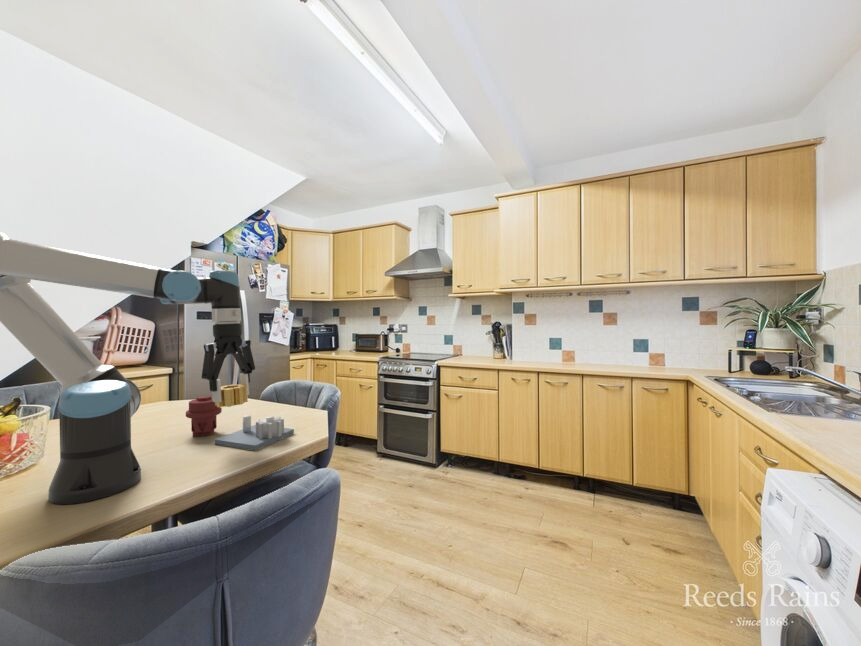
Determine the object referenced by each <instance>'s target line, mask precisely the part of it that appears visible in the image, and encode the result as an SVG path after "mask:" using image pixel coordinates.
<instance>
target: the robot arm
mask: <svg viewBox="0 0 861 646" xmlns="http://www.w3.org/2000/svg"><path fill="white" fill-rule="evenodd" d="M31 280H32V281H38V282H47V283H52V284H53V283H54V284H58V285H59V284H60V285H65V286H66V285H67V286H74V287H80V288H87V289H94V290H101V291H107V292H108V291H109V292H114V293H120V294H127V295H135V296H141V297H147V298H154V299H158V300H159V302H161V304H163V305H193V304H194V305H195V304H210V305H211V322H212V323H214V324H213V325H212V336H213V337H214V339H213V340H214V341H213V342H212V343H204V344H203V350H204V356H203V363H202V369H201V371H202V372H201V379H203V380H206V381H207V380H208V382H209V391H210V392H211V393H212V396H211V397H213V402H218V403H220V402H222V398H221V385H222V384H221V379H220V378H219V376H220V373H221V371H222V366H223V364H224V361H225V359H226V358H227V356H228V355H230V354H231V355H232V356H233V357H234V360H235V362H236V364H237V365H238V367H239V369H240V371H241V373H239V384H245V385H247V396H249V395H250V387H249V385H250V382H251V377H250V376H251V375H250V374H252V373H253V371H255V370H256V366H255V361H254V357H253V352H252V349H251V340H250V339H242V335H243V327H242V326H243V325H242V323H240V322H241V321H242V312H241V310H242V309H241V292H240V291H241V290H240V289H241V288H240V287H241V286H240V282H239V275H238V272H236V271H234V270H233V271H232V270H223V269H221V270H212V271H210V272H209V275H208V277H197V276H196V275H195V274H193V273H192V272H190V271H188V270H187V271H186V270H181V269H179V270H178V269H177V270H175V269H174V270H173V269H167V268H162V267H157V266H154V265H153V266H152V265H147V264H144V263H136V262H133V261H127V260H121V259H115V258H110V257H105V256H101V255H96V254H91V253H90V254H89V253H85V252H81V251H80V252H79V251H75V250H69V249H68V250H67V249H63V248H59V247H58V248H57V247H54V246H49V245H43V244H37V243H33V242H27V241H22V240H17V239H12V238H9V237H8V236H7V235H6V234H5V233H3V232H0V323H1V324H2V325H3V326H4V328H5V329H6V330H8V332H10V333H11V334H12V336H14V338H16V340H18V342H19V343H20V344H21V345H22V346H23V347H24V348H25V349H26V350H27V351H28V352H29V353H30V354H31V355H32V356H33V357H34V358H35V360H37V361H38V363H40V364H41V365H42V366H43V367H44V369H45V370H46V371H47V372H48V373H49V374H50V375H51V376H52V377H53V378H54V379H55V380H56V381H57V382H58V383H59V384H60V385H61V390H60V393H59V402H58V404H57V407H58V411H59V412H58V413H59V419H58V420H59V453H60V455H59V456H60V457H59V463H58V466H57V468H56V470H55V473H54V476H53V478H52V480H51V483H50V485H49V488H48V501H49V502H50V503H51V504H55V505H73V504H74V505H75V504H79V503H80V504H81V503H86V502H91V501H95V500H99V499H103V498H107V497H110V496H112V495H116V494H119V493H121V492H123V491H125V490H127V489H130V488H131V487H133V486H134V485H136V484H137V483H138V482H140V480H142V479H141V478H142V468H141V466H140V463H139V461H138V459H137V457H136V454H135V453H134V451H133V449H132V428H131V427H132V422H131V421H132V418H133V416H134V415H135V414H136V413H137V411H138V409H139V408H140V405H141V401H142V395H141V391H140V388H139V387H138V385H137V384H136V383H135V382H133V381H132V380H129V379H128V378H126V377H125V376H124V375H123V374H122V373H121V372H120V370H118V369H117V368H116V366H114V365H109V364H103V363H102V361H100V360H99V358H98V357H97V356H96V355H95V354H94V353H93V352H92V351H91V349H89V347H88V346H87V345H86V344H85V343H84V342H83V341H82V339H81V338H80V337H78V335H77V334H76V333H75V332H74V331H73V329H71V327H70V326H69V324H67V322H65V321H64V319H62V317H61V316H60V315H59V314H58V313H57V312H56V311H55V309H53V308H52V306H51V305H50V304H49V303H48V302H47V301H46V299H45V298H44V297H42V295H41V294H40V293H39V292H38V291H37V289H35V287H34V286H33V285H32V284H31ZM215 350H216V352H215Z"/></svg>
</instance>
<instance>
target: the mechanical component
mask: <svg viewBox="0 0 861 646" xmlns="http://www.w3.org/2000/svg"><path fill="white" fill-rule="evenodd" d="M222 409H223V407H217V406H215V402H213V396H210V395H202V396H197V398H194V399H192V400H190V401H189V402H188V410H186V411H185V417H186V418H188V419H191V424H190V425H191V426H190V427H191V428H190V429H191V432H192V437H193V436H196V437H201V436H200V435H202V436H212V435H211V434H213V435H214V434H215V430H216V429H217V424H218V423H217V416H218V415H221V413H222V411H223V410H222Z"/></svg>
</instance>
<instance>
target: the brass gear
mask: <svg viewBox="0 0 861 646" xmlns="http://www.w3.org/2000/svg"><path fill="white" fill-rule="evenodd" d="M248 396H249V395H247V385H245V384H240V383H239V384H237V383H236V384H228V385H222V386H221V398H222V402H220V403H218V402H215V406H217V407H221V408H224V407H227V408H230V407H232V406H233V407H234V406H238V405H239V406H242V405H243V404H244V403H248V401H249V400H248Z"/></svg>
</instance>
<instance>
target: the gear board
mask: <svg viewBox="0 0 861 646" xmlns="http://www.w3.org/2000/svg"><path fill="white" fill-rule="evenodd" d="M293 433H294V434H295V429H294V428H286V427H285V418H281V417H280V416H276V417H275V416H273V415H271V416H266V417H265V418H259V419H258V421H255V424H253V425H252V415H249V414H248V415H247V414H245V415H242V429H240V430H237V431H234V432H232V433H228V434H225V435H223V436H219V437H217V438H214V445H216V444H218V445H217V446H222V445H224V447H228V446H230V448H235V447H236V448H237V449H242V450H249V451H255V452H256V451H258V450H260V449H262V447H263V448H265V447H267V446H269V445H271V443H272V444H274V443H276V442H278V441H280V439H281V440H283V439H285V438H287V437H290V436H292V435H294V434H293ZM291 434H292V435H291ZM289 435H290V436H289ZM282 438H283V439H282ZM277 440H278V441H277ZM275 441H276V442H275ZM273 442H274V443H273ZM236 448H235V449H236Z"/></svg>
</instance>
